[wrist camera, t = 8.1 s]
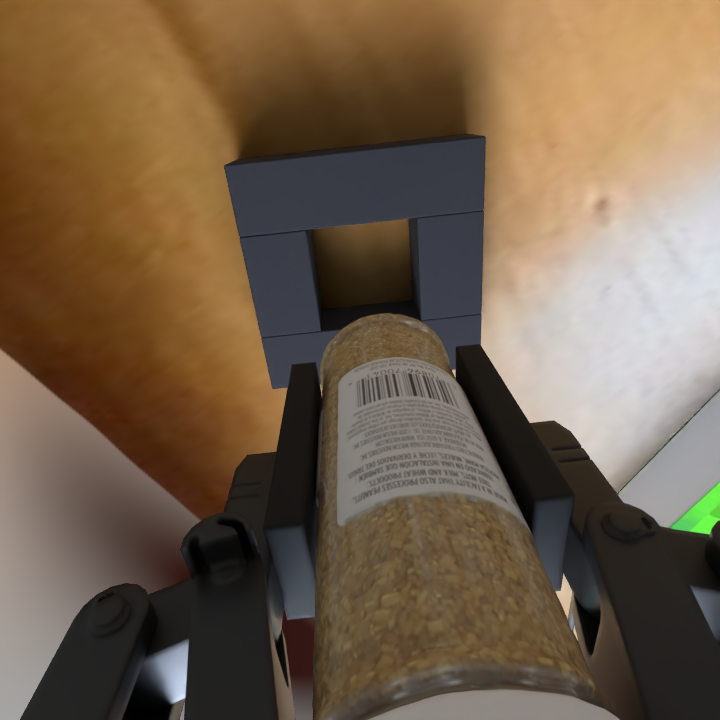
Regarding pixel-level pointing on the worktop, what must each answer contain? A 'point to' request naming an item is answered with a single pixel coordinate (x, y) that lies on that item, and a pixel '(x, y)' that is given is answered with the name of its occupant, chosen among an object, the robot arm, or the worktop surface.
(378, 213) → the dark grey square frame
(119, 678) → the robot arm
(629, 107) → the worktop surface
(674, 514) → the green board game box
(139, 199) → the worktop surface
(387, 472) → the sprinkles bottle
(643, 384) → the worktop surface
